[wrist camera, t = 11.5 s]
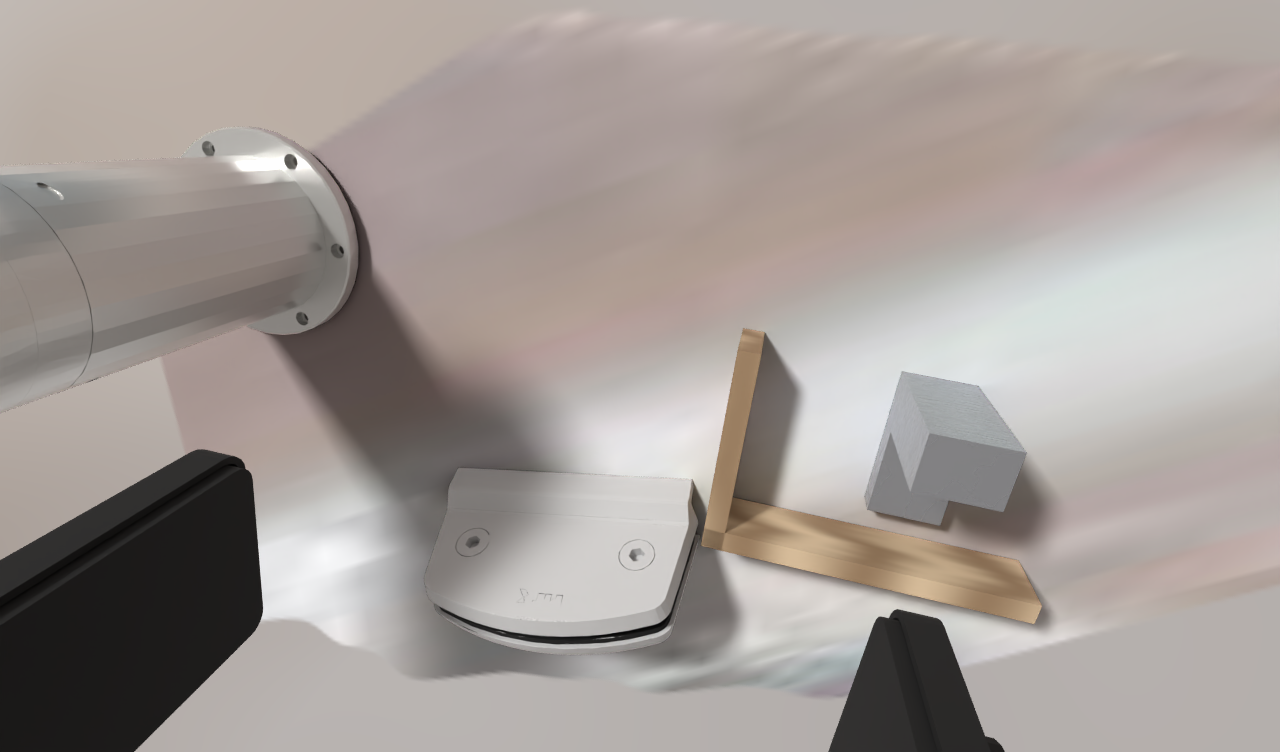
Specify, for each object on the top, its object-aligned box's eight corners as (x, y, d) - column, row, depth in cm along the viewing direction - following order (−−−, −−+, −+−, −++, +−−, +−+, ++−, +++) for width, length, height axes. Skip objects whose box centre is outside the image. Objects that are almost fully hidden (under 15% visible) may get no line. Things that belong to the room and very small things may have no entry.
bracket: (901, 371, 36) (929, 433, 29) (978, 385, 35) (1026, 452, 28) (864, 496, 39) (880, 580, 32) (934, 511, 38) (968, 601, 31)
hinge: (698, 479, 41) (676, 628, 33) (703, 527, 44) (684, 674, 36) (452, 467, 45) (383, 599, 37) (473, 511, 48) (412, 642, 40)
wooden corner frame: (709, 509, 41) (700, 545, 38) (743, 328, 37) (737, 350, 33) (1011, 577, 39) (1034, 624, 35) (1088, 390, 34) (1123, 421, 31)
